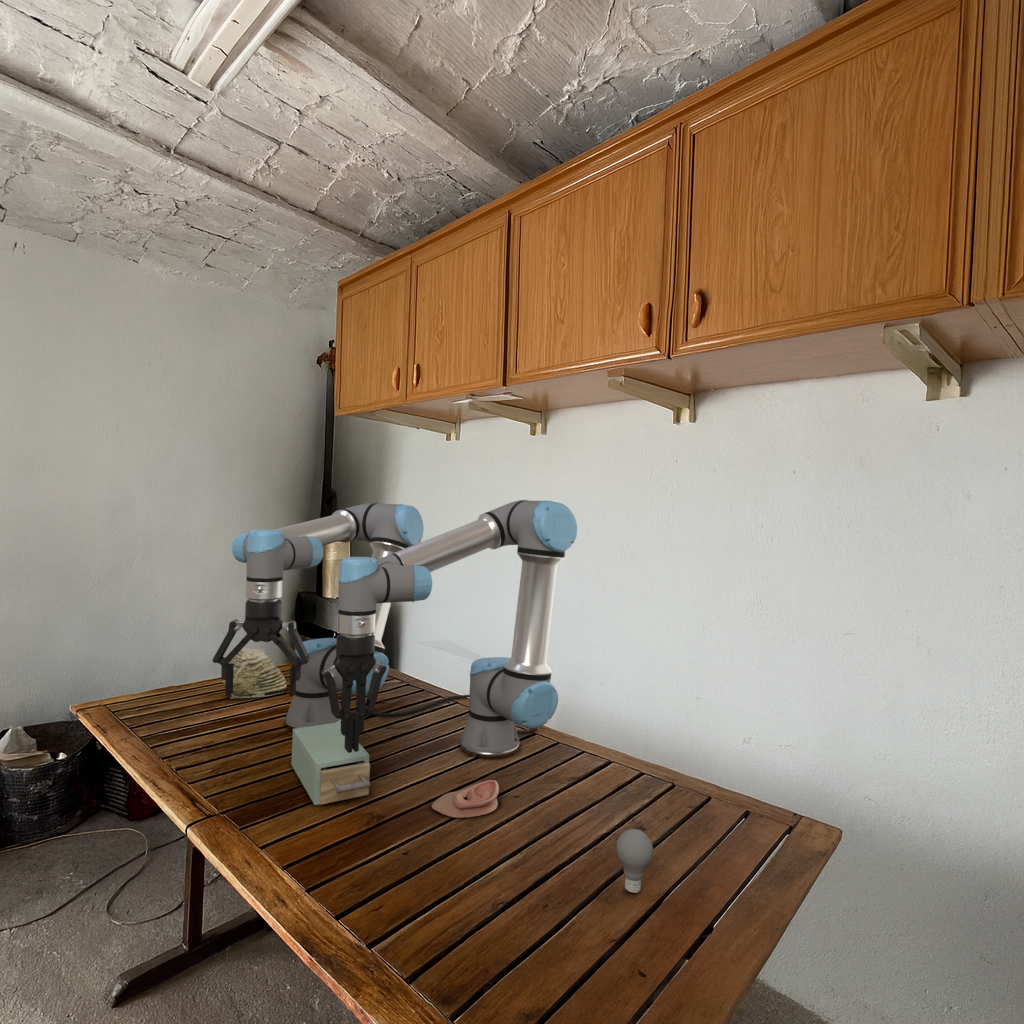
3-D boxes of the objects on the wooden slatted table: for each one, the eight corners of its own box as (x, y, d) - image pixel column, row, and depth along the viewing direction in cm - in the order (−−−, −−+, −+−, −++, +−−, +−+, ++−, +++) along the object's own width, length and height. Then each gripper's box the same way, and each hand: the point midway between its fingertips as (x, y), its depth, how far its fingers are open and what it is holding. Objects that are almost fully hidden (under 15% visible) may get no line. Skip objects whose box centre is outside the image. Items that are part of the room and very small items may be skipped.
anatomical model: (427, 794, 128) (444, 771, 139) (426, 813, 128) (443, 788, 139) (490, 803, 125) (503, 779, 137) (489, 823, 126) (502, 797, 137)
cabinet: (367, 794, 136) (369, 754, 136) (314, 805, 130) (316, 764, 130) (339, 756, 154) (340, 721, 154) (291, 765, 149) (292, 728, 148)
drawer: (377, 805, 129) (378, 774, 129) (327, 816, 124) (329, 783, 124) (341, 758, 151) (342, 731, 151) (297, 766, 146) (298, 738, 146)
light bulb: (610, 879, 108) (613, 822, 108) (644, 879, 109) (647, 822, 109) (619, 902, 102) (622, 840, 102) (655, 901, 103) (658, 840, 103)
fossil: (218, 695, 195) (220, 647, 195) (278, 685, 208) (279, 640, 207) (228, 703, 189) (230, 653, 188) (289, 692, 201) (290, 645, 201)
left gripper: (198, 600, 135) (195, 699, 136) (318, 603, 138) (315, 700, 138) (211, 595, 143) (208, 688, 143) (324, 597, 145) (321, 689, 146)
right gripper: (327, 640, 121) (322, 762, 122) (394, 635, 128) (390, 750, 129) (317, 632, 128) (312, 748, 128) (382, 627, 135) (377, 737, 135)
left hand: (260, 694), depth 141 cm, fingers open, 13 cm apart
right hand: (351, 749), depth 128 cm, fingers closed
